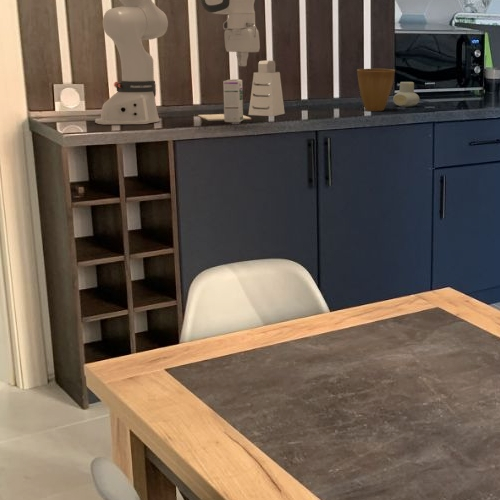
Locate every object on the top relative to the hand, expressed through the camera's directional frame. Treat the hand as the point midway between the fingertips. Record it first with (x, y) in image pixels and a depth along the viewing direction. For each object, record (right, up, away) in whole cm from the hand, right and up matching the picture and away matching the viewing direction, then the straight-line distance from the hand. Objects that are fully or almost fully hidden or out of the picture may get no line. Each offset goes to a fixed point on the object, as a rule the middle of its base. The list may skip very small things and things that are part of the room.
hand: (242, 66), depth 279 cm
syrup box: (-3, -16, +15) cm, 23 cm away
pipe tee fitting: (+68, -1, +71) cm, 99 cm away
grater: (+9, -10, +40) cm, 42 cm away
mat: (-7, -13, +27) cm, 31 cm away
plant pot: (+52, -6, +55) cm, 76 cm away
